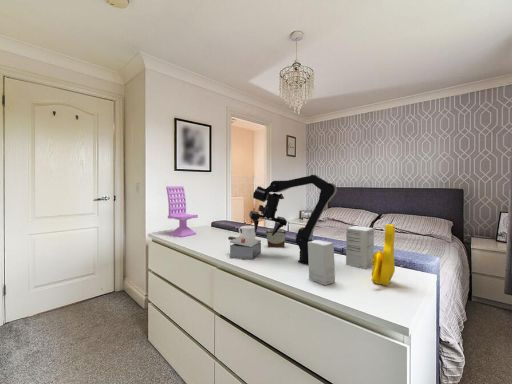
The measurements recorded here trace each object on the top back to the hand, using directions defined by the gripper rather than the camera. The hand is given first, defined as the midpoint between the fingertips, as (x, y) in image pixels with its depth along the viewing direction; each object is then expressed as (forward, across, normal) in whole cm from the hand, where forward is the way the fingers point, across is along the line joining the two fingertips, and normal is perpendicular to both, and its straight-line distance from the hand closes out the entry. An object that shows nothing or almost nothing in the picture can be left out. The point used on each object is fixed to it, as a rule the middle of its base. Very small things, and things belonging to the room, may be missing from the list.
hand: (263, 234), depth 128 cm
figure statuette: (-5, -35, +44) cm, 57 cm away
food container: (+12, -15, -16) cm, 25 cm away
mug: (+17, 0, -26) cm, 31 cm away
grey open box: (+13, +6, 0) cm, 14 cm away
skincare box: (+1, -15, +38) cm, 41 cm away
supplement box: (-2, -41, +23) cm, 47 cm away
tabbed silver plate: (+7, +9, -3) cm, 12 cm away
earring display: (+33, +40, -62) cm, 81 cm away
